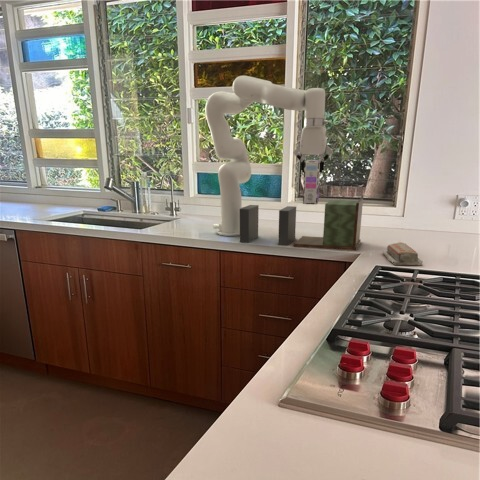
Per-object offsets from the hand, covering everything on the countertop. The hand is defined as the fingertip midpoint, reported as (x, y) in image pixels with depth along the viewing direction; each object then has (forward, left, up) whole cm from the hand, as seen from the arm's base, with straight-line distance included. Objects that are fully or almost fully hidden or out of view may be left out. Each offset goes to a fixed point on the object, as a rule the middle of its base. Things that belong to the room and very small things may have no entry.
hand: (312, 172), depth 185 cm
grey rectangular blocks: (-18, 0, -29) cm, 34 cm away
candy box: (0, 0, -12) cm, 12 cm away
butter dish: (+37, -19, -29) cm, 51 cm away
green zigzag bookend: (+8, 0, -29) cm, 30 cm away
